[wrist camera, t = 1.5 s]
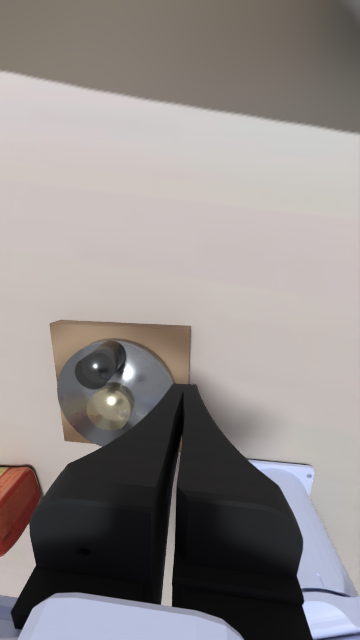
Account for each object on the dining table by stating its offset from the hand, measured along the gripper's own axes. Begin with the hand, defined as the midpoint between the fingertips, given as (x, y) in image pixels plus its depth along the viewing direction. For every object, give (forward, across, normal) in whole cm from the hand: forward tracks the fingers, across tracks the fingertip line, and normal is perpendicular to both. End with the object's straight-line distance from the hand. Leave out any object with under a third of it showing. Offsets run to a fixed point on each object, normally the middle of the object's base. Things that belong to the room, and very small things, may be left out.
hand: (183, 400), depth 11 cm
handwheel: (+7, +6, +5) cm, 11 cm away
